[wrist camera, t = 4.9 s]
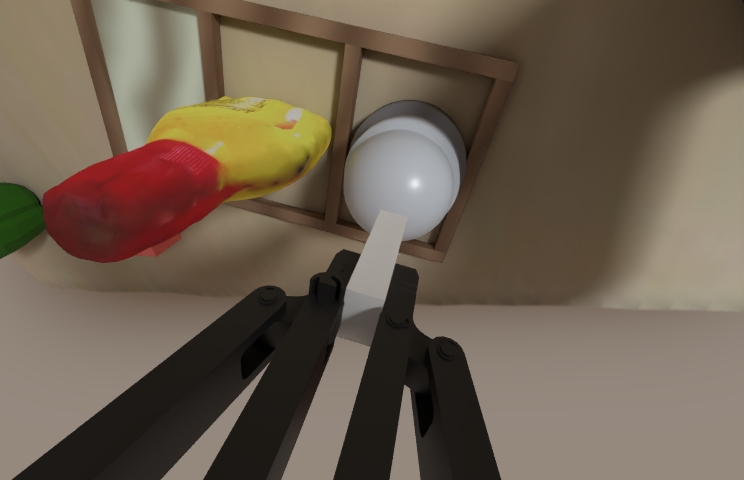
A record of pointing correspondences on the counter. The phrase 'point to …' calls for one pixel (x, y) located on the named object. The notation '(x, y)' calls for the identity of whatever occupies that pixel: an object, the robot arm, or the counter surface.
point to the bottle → (183, 175)
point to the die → (159, 247)
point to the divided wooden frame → (205, 82)
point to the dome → (402, 174)
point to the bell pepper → (18, 217)
